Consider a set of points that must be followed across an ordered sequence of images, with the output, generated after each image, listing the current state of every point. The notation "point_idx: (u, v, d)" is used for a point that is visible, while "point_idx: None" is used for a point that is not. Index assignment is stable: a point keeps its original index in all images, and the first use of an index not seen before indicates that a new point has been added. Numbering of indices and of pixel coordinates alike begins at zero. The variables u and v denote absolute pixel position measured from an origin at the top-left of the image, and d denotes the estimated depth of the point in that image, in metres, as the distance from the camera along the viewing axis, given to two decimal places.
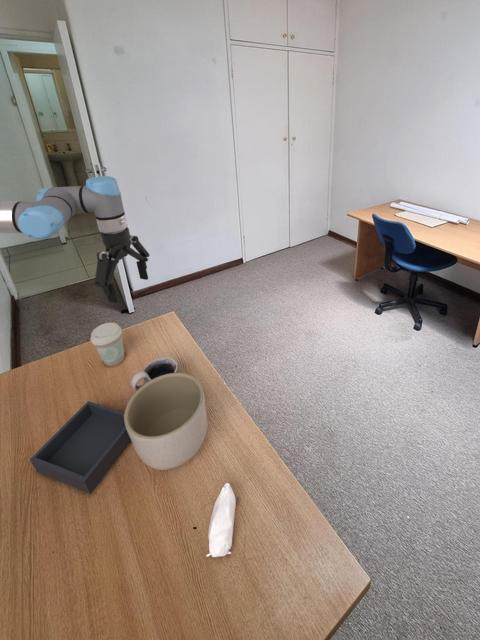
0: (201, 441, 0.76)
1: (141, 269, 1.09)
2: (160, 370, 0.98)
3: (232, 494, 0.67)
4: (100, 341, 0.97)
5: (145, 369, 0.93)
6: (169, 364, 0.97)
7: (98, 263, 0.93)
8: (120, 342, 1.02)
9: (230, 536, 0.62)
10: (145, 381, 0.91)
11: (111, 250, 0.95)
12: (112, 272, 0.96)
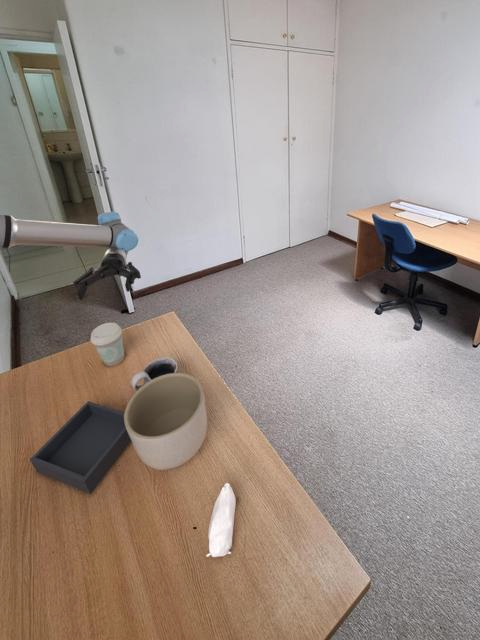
0: (200, 441, 0.76)
1: (84, 289, 1.06)
2: (160, 370, 0.98)
3: (232, 494, 0.67)
4: (100, 341, 0.97)
5: (145, 369, 0.93)
6: (169, 364, 0.97)
7: None
8: (120, 342, 1.02)
9: (230, 536, 0.62)
10: (145, 381, 0.91)
11: None
12: None
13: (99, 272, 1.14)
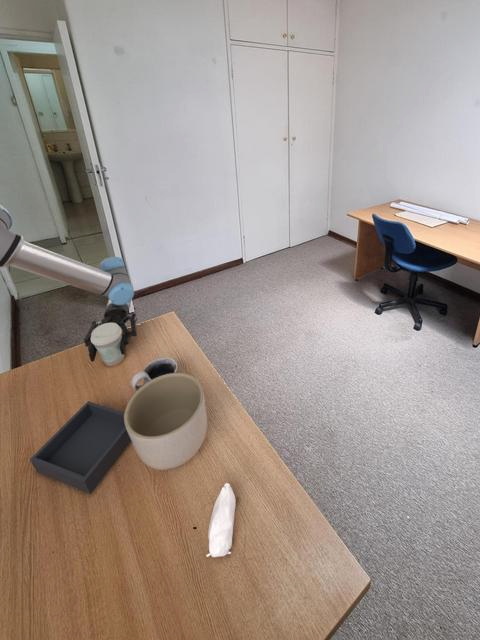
0: (200, 441, 0.76)
1: (95, 349, 1.01)
2: (160, 370, 0.98)
3: (232, 494, 0.67)
4: (100, 341, 0.97)
5: (145, 369, 0.93)
6: (169, 364, 0.97)
7: (134, 319, 1.12)
8: (120, 342, 1.02)
9: (230, 536, 0.62)
10: (145, 381, 0.91)
11: None
12: None
13: None
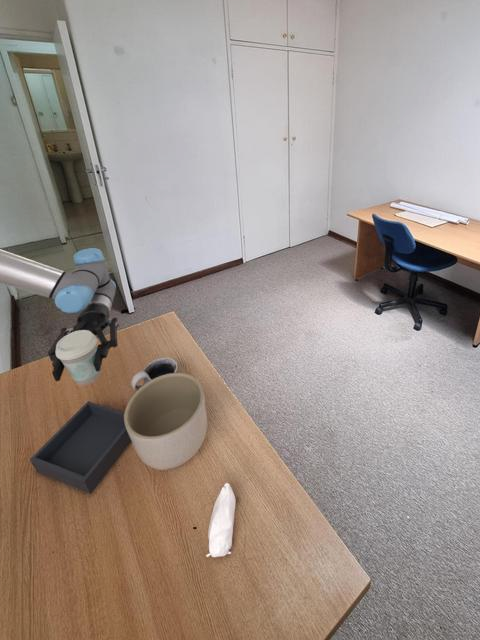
0: (201, 441, 0.76)
1: (62, 364, 0.78)
2: (160, 370, 0.98)
3: (232, 494, 0.67)
4: (67, 355, 0.75)
5: (145, 369, 0.93)
6: (169, 364, 0.97)
7: (115, 325, 0.90)
8: None
9: (230, 536, 0.62)
10: (145, 381, 0.91)
11: None
12: None
13: None
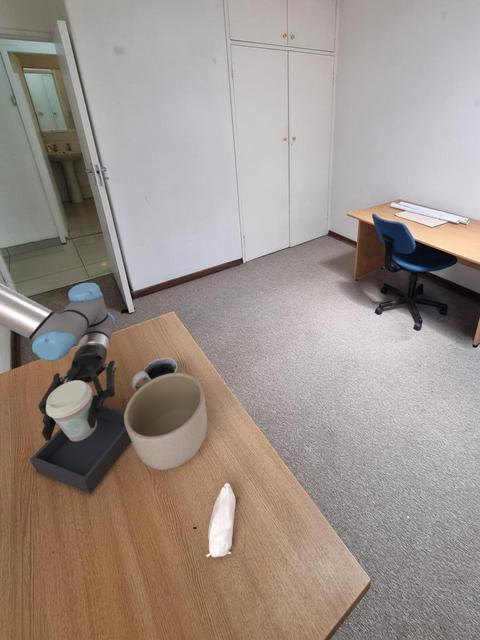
0: (200, 441, 0.76)
1: (53, 420, 0.71)
2: (160, 370, 0.98)
3: (232, 494, 0.67)
4: (58, 412, 0.68)
5: (145, 369, 0.93)
6: (169, 364, 0.97)
7: (112, 370, 0.83)
8: (89, 409, 0.73)
9: (230, 536, 0.62)
10: (145, 381, 0.91)
11: None
12: None
13: None
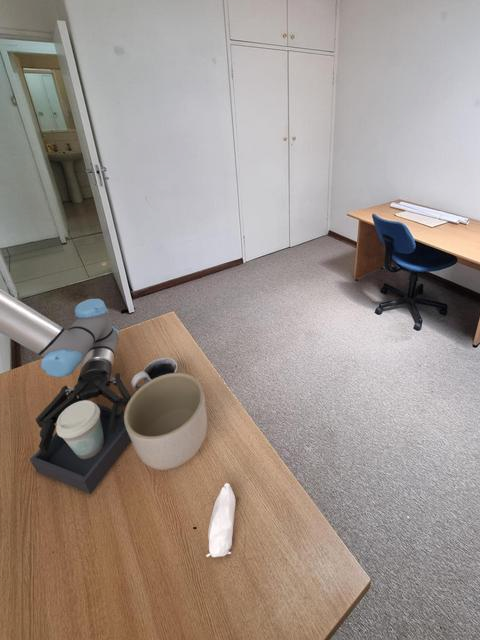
0: (200, 441, 0.76)
1: (50, 433, 0.75)
2: (160, 370, 0.98)
3: (232, 494, 0.67)
4: (68, 433, 0.71)
5: (145, 369, 0.93)
6: (169, 364, 0.97)
7: (121, 381, 0.87)
8: (97, 428, 0.76)
9: (230, 536, 0.62)
10: (145, 381, 0.91)
11: None
12: None
13: (74, 396, 0.82)
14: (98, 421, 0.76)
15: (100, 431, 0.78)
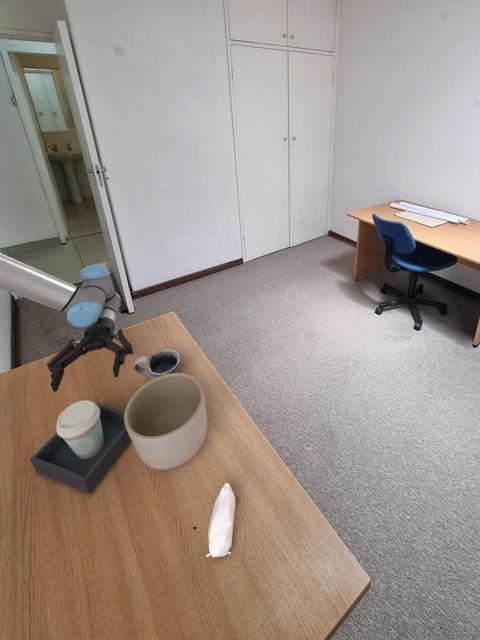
0: (201, 441, 0.76)
1: (59, 375, 0.83)
2: (171, 360, 1.01)
3: (232, 494, 0.67)
4: (68, 433, 0.71)
5: (154, 354, 0.98)
6: (176, 359, 0.99)
7: (123, 336, 0.96)
8: (97, 428, 0.76)
9: (230, 536, 0.62)
10: None
11: None
12: None
13: (81, 347, 0.91)
14: (98, 421, 0.76)
15: (100, 431, 0.78)
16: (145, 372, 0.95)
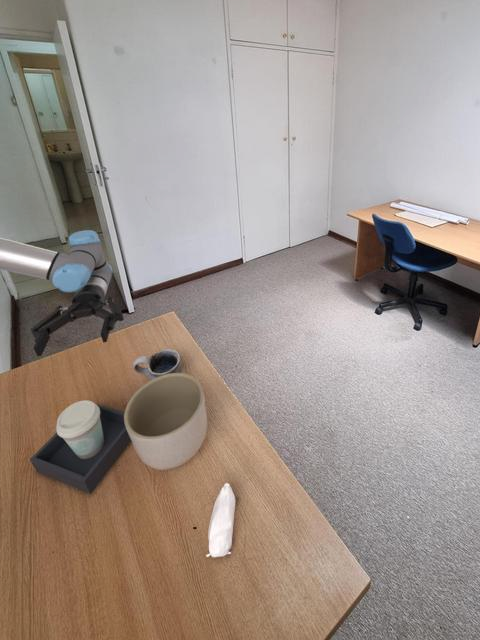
0: (200, 441, 0.76)
1: (44, 340, 0.78)
2: (171, 360, 1.01)
3: (232, 494, 0.67)
4: (68, 433, 0.71)
5: (154, 354, 0.98)
6: (176, 359, 0.99)
7: (113, 303, 0.90)
8: (97, 428, 0.76)
9: (230, 536, 0.62)
10: None
11: None
12: None
13: (68, 313, 0.86)
14: (98, 421, 0.76)
15: (100, 431, 0.78)
16: (145, 372, 0.95)
